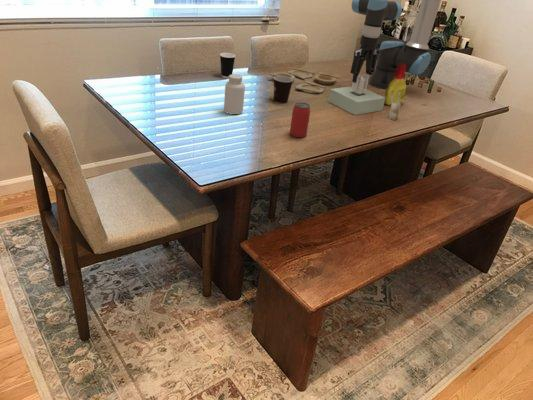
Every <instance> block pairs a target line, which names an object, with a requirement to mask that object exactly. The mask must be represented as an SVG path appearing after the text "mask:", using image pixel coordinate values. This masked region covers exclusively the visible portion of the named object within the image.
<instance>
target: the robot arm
mask: <svg viewBox="0 0 533 400" xmlns="http://www.w3.org/2000/svg"><path fill="white" fill-rule="evenodd" d="M441 2H442V0H421V3H420V6H419V8H418V12H417V16H416V19H415V23H414V25H413V28H412V32H411V36H410V39H409V41H407V42H406V43H405V42H403V41H399V40H385V41H382V42H381V44H380V47H379V49H376V47H378V45H379V40H380V38H379V37H380V35H381V31H382V28H383V27H382V26H383V22H386V21H390V22H392V21H395V20H397V19H399V18H400V17H401V15H402V11H403V8H402V4H401V3H400V2H398V1H394V0H391V1H390V0H351V10H352V11H353V12H354V13H356V14H358V15H363V16H365V18H364V19H365V20H364V23H363V26H362V27H363V28H362V31H361V32H362V33H361V34H362V35H361V37H360V41H359V44H360V47H359V50H358V49H357V50H354V51H353V58H352V64H351V68H350V72H349V73H351V74H353V75H352V79H351V81H352V84H351V86H352V89H354V90H357V86H358V82H359V77H360V76H359V75H360V72H361V70H362V67H363V65H364V62H365V72H364V73H363V76H365V77H366V81H365V85H364V89H367V87H368V84H369V85H370V86H372V87H375V88H378V89H381V90H386V88H387V86H388V84H389V83H390V82H391V81H392V79H393V77H394V74H395V71H396V68H397V66H398V64H399V63H405V64H406V70H405V73H407V74H410V75H415V76H419V75H421V74H422V73H424V72H425V70H427V68H428V67H429V65H430V62H431V57H432V55H431V53H430V52H429V50H430V47H429V45H428V43H429V40H430V37H431V34H432V30H433V27H434V23H435V21H436V17H437V15H438V11H439V8H440V6H441V5H440V4H441Z"/></svg>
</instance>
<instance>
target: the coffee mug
mask: <svg viewBox="0 0 533 400" xmlns="http://www.w3.org/2000/svg"><path fill="white" fill-rule="evenodd" d="M293 81H294V79H291V78H289V77H285V76H276V77H274V76H273V101H274V102H275V103H279V104H286V103H288V101H289V97H290V93H291V90H292V85H293Z"/></svg>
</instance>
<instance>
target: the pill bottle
mask: <svg viewBox="0 0 533 400" xmlns="http://www.w3.org/2000/svg"><path fill="white" fill-rule="evenodd" d="M245 89H246V87H245V84H244V82H243V76H242V75H241V74H235V73H232V75H229V78H228V80H227V82H226V83H225V86H224V98H223V99H224V101H223V102H224V103H223V111H224V112H225V111H226V112H228V113H231V114H239V115H241V114H243V110H244V102H245ZM226 112H225V113H226ZM228 113H227V114H228ZM240 113H241V114H240ZM231 114H230V115H231Z"/></svg>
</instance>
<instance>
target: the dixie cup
mask: <svg viewBox="0 0 533 400" xmlns="http://www.w3.org/2000/svg"><path fill="white" fill-rule="evenodd" d="M219 56H220V57H219V59H220V75H221V77H222V78H223V79H229V75H232V74H233V71H234V66H235V60H236V54H234V53H231V52H221V53H220V54H219Z"/></svg>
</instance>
